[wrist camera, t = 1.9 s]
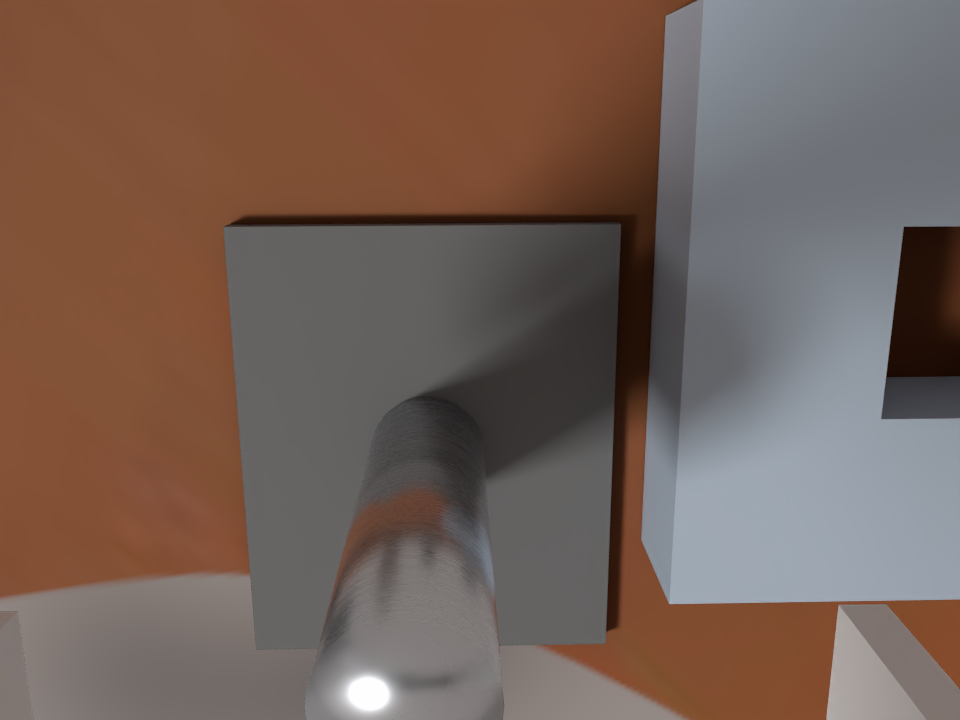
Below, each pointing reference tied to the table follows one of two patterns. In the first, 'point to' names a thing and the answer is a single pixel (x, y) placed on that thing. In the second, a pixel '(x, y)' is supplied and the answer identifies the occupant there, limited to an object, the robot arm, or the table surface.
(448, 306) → the mat
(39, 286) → the table surface
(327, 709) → the pin
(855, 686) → the robot arm
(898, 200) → the socket block
